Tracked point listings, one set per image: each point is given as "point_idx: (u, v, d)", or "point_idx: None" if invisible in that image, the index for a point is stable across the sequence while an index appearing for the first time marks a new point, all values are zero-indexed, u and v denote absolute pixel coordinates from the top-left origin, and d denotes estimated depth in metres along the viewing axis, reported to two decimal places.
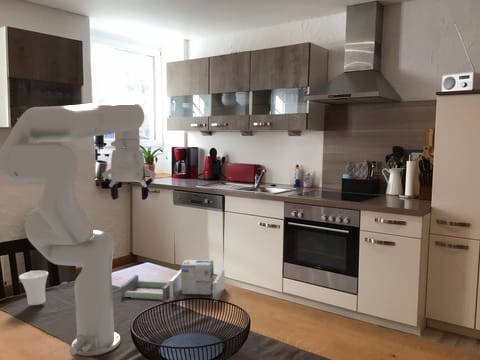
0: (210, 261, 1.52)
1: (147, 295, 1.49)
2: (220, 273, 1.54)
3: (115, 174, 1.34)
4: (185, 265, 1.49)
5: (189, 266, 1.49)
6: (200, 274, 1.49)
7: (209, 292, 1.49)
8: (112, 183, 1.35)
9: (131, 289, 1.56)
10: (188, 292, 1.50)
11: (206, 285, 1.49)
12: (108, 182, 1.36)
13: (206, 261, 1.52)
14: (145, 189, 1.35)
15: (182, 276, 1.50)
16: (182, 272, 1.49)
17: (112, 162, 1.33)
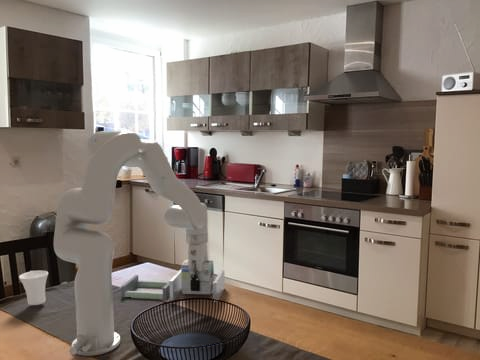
0: (210, 261, 1.52)
1: (147, 295, 1.49)
2: (220, 273, 1.54)
3: (202, 265, 1.48)
4: (185, 265, 1.49)
5: None
6: (200, 274, 1.49)
7: (209, 292, 1.49)
8: (198, 276, 1.48)
9: (131, 289, 1.56)
10: (188, 292, 1.50)
11: (206, 285, 1.49)
12: (196, 277, 1.47)
13: (206, 261, 1.52)
14: None
15: (182, 276, 1.49)
16: (182, 272, 1.49)
17: (201, 255, 1.47)
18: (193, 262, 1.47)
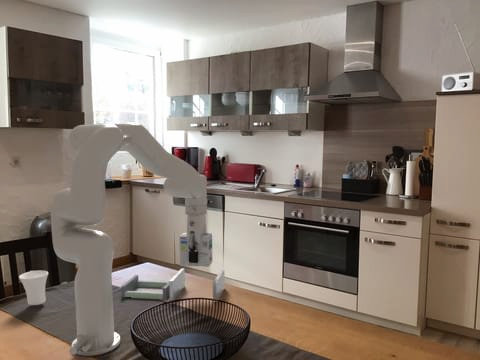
0: (209, 234, 1.51)
1: (147, 295, 1.49)
2: (220, 273, 1.54)
3: (201, 237, 1.47)
4: (183, 236, 1.48)
5: None
6: (198, 246, 1.47)
7: (207, 264, 1.47)
8: (196, 247, 1.46)
9: (131, 289, 1.56)
10: (186, 264, 1.48)
11: (204, 257, 1.47)
12: (194, 248, 1.45)
13: (205, 233, 1.51)
14: None
15: (180, 248, 1.48)
16: (180, 244, 1.48)
17: (199, 226, 1.45)
18: (192, 233, 1.45)
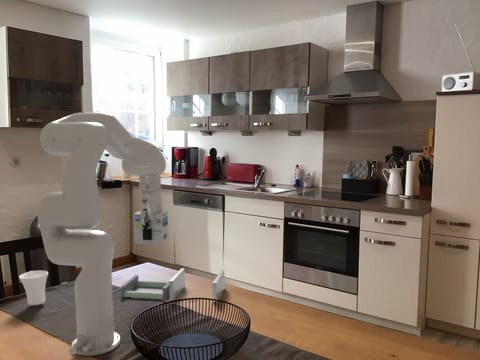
0: (163, 211, 1.53)
1: (147, 295, 1.49)
2: (220, 273, 1.54)
3: (154, 214, 1.49)
4: (137, 214, 1.50)
5: None
6: (152, 223, 1.49)
7: (161, 241, 1.50)
8: (150, 225, 1.49)
9: (131, 289, 1.56)
10: (141, 241, 1.51)
11: (158, 234, 1.50)
12: (147, 225, 1.47)
13: None
14: None
15: (134, 225, 1.50)
16: (134, 221, 1.50)
17: (152, 204, 1.47)
18: (144, 210, 1.47)
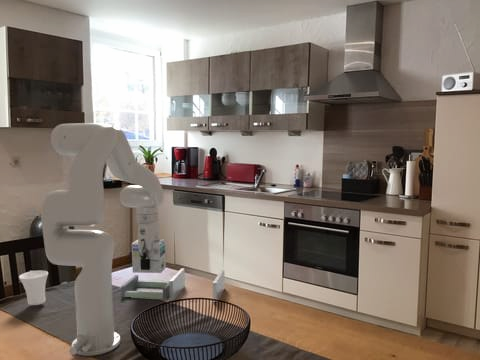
0: (161, 240, 1.54)
1: (147, 295, 1.49)
2: (220, 273, 1.54)
3: (152, 244, 1.50)
4: (135, 244, 1.51)
5: None
6: (149, 253, 1.51)
7: (159, 271, 1.51)
8: (148, 255, 1.50)
9: (131, 289, 1.56)
10: (139, 271, 1.52)
11: (156, 264, 1.51)
12: (145, 255, 1.49)
13: None
14: None
15: (132, 255, 1.52)
16: (132, 251, 1.52)
17: (150, 234, 1.49)
18: (142, 241, 1.49)
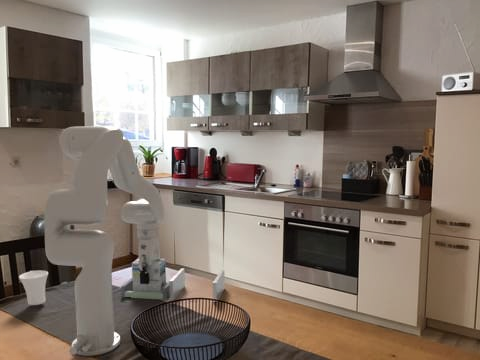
0: (161, 260, 1.55)
1: (147, 295, 1.49)
2: (220, 273, 1.54)
3: (153, 260, 1.51)
4: (135, 264, 1.52)
5: None
6: (150, 272, 1.51)
7: (159, 290, 1.52)
8: (147, 269, 1.50)
9: (131, 289, 1.56)
10: (139, 290, 1.52)
11: (156, 283, 1.51)
12: (144, 270, 1.48)
13: (157, 260, 1.55)
14: None
15: (132, 275, 1.52)
16: (132, 271, 1.52)
17: (150, 250, 1.49)
18: (143, 255, 1.49)
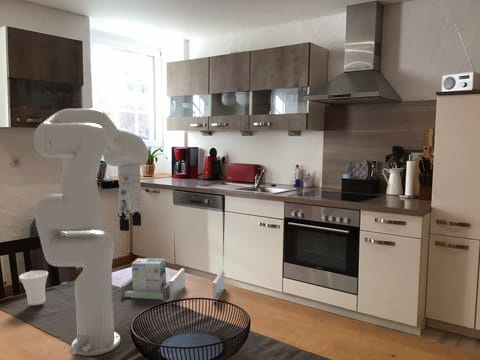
0: (161, 260, 1.55)
1: (147, 295, 1.49)
2: (220, 273, 1.54)
3: (133, 206, 1.47)
4: (135, 264, 1.52)
5: (139, 265, 1.51)
6: (150, 272, 1.51)
7: (159, 290, 1.52)
8: (127, 215, 1.46)
9: (131, 289, 1.56)
10: (139, 290, 1.52)
11: (156, 283, 1.51)
12: (124, 215, 1.44)
13: (157, 260, 1.55)
14: None
15: (132, 275, 1.52)
16: (132, 271, 1.52)
17: (131, 195, 1.45)
18: (123, 201, 1.45)
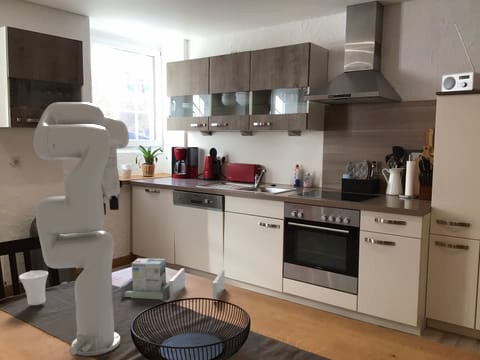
0: (161, 260, 1.55)
1: (147, 295, 1.49)
2: (220, 273, 1.54)
3: (110, 190, 1.44)
4: (135, 264, 1.52)
5: (139, 265, 1.51)
6: (150, 272, 1.51)
7: (159, 290, 1.52)
8: (104, 199, 1.43)
9: (131, 289, 1.56)
10: (139, 290, 1.52)
11: (156, 283, 1.51)
12: None
13: (157, 260, 1.55)
14: None
15: (132, 275, 1.52)
16: (132, 271, 1.52)
17: (107, 179, 1.43)
18: None
